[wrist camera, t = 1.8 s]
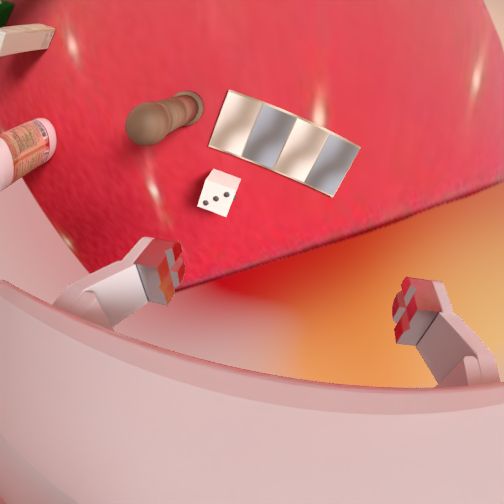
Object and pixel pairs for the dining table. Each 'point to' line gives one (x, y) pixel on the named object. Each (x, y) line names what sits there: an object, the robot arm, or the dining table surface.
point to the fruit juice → (25, 149)
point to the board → (282, 142)
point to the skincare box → (24, 38)
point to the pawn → (163, 117)
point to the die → (218, 192)
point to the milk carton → (5, 11)
